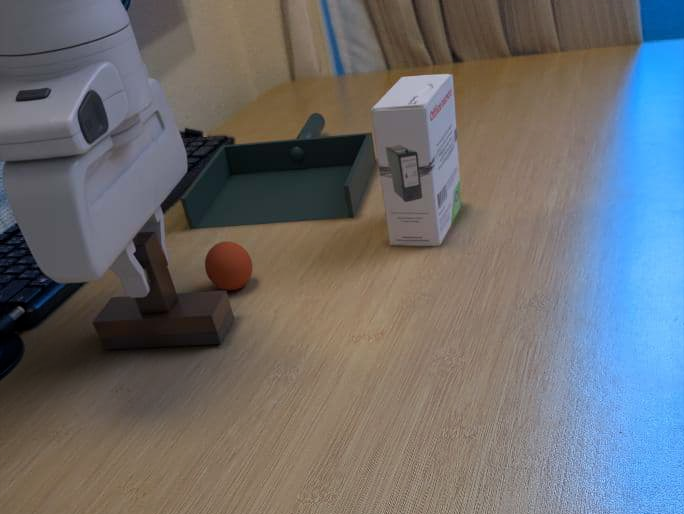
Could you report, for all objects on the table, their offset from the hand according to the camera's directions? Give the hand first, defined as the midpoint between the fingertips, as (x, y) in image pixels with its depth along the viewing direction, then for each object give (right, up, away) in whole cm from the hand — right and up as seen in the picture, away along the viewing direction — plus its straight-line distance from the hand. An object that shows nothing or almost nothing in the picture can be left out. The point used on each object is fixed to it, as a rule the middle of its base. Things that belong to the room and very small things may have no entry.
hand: (149, 281), depth 64 cm
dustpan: (+8, +20, +27) cm, 34 cm away
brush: (+1, -3, +3) cm, 5 cm away
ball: (+5, +4, +7) cm, 9 cm away
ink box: (+22, +9, +13) cm, 27 cm away
